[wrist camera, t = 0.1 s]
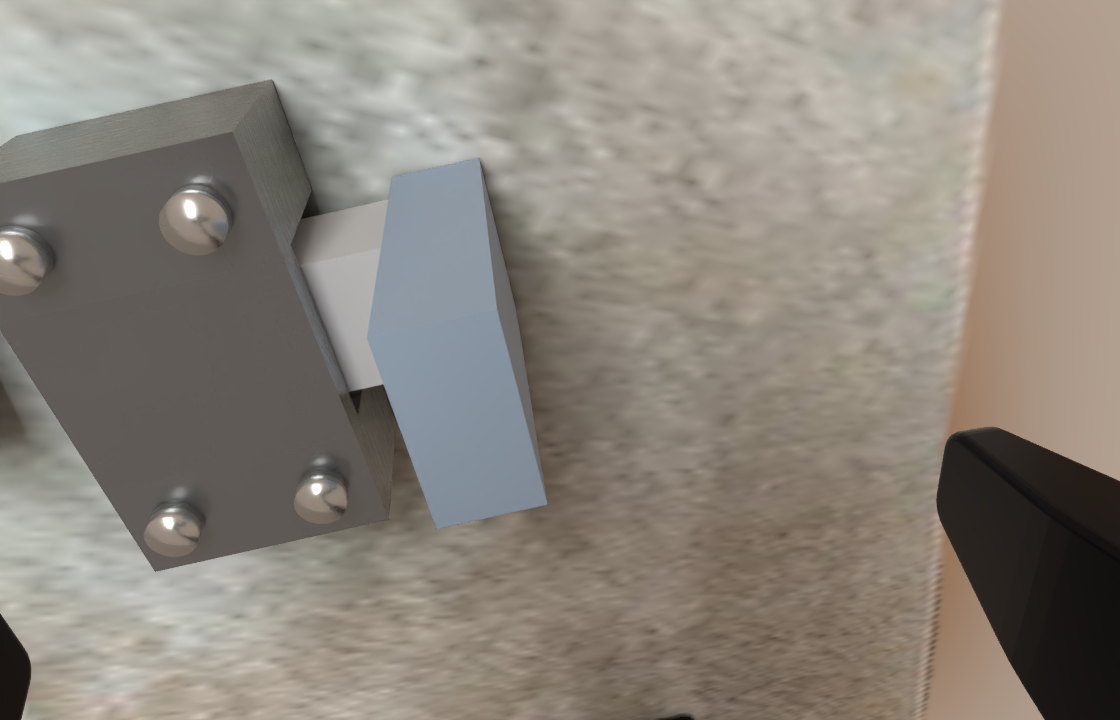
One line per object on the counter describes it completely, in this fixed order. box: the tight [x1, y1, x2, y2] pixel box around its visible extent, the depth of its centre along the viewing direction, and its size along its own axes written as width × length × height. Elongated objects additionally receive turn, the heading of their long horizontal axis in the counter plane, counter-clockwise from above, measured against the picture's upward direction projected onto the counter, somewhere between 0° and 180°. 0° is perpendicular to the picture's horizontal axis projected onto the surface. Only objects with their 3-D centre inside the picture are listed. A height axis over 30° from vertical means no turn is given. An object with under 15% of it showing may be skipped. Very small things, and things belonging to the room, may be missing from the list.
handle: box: [291, 158, 548, 529], centre depth 18 cm, size 4×9×8 cm, turn 100°
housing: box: [0, 80, 397, 572], centre depth 20 cm, size 10×6×5 cm, turn 10°
